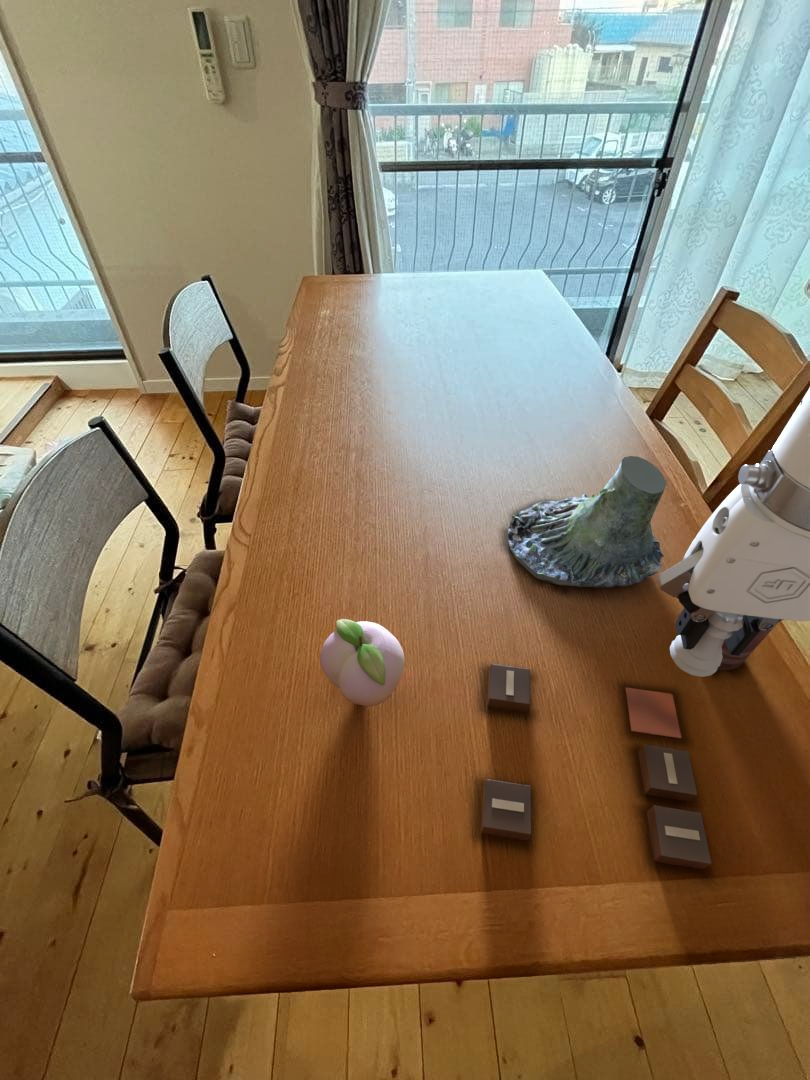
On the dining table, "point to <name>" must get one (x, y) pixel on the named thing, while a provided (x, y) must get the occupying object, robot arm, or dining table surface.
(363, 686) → the decorative fruit
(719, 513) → the robot arm
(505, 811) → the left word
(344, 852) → the dining table surface
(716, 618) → the rook chess piece
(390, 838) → the dining table surface
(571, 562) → the tree stump
